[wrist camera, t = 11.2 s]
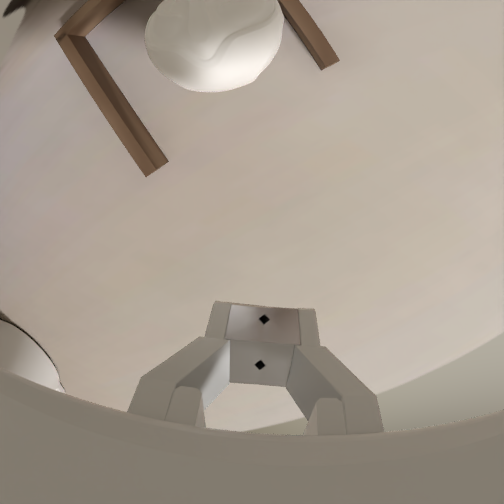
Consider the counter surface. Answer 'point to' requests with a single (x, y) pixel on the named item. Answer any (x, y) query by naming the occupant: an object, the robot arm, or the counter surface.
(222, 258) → the counter surface
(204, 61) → the white sculpted ball
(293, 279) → the counter surface
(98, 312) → the counter surface
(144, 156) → the bay
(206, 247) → the counter surface
